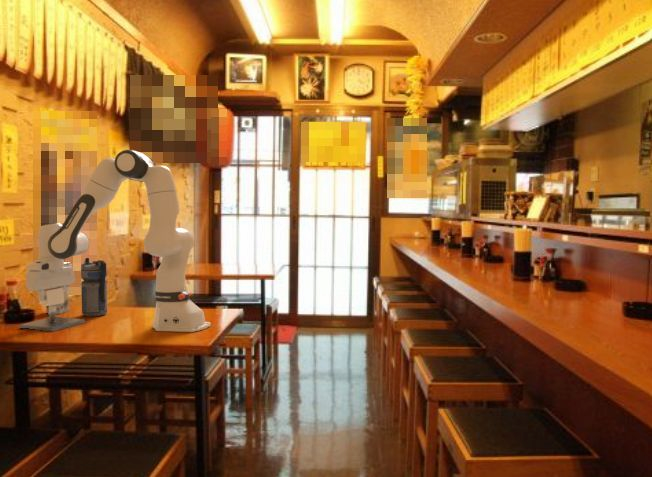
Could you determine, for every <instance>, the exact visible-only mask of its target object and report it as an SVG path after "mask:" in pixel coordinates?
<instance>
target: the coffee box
mask: <svg viewBox="0 0 652 477" xmlns="http://www.w3.org/2000/svg"><path fill="white" fill-rule="evenodd" d="M69 286H70V285H66V290H65V292H64V303H62V304H56V315H61V314H64V313H65V312H68V311H70V299H69V297H70V294H69V293H70V292H69V291H70V288H69ZM53 288H54V287H53ZM58 288H60V286H59V287H58ZM45 308H46V309H45V311H46V312H45V314H46V313H48V314H47V315H49V306H45Z"/></svg>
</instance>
